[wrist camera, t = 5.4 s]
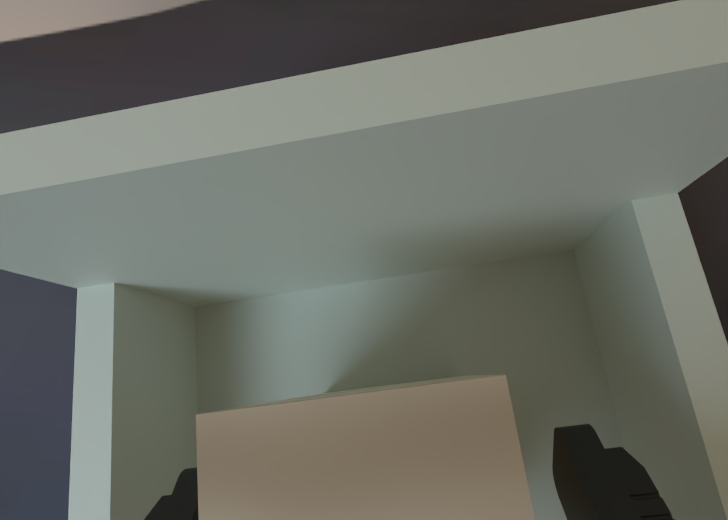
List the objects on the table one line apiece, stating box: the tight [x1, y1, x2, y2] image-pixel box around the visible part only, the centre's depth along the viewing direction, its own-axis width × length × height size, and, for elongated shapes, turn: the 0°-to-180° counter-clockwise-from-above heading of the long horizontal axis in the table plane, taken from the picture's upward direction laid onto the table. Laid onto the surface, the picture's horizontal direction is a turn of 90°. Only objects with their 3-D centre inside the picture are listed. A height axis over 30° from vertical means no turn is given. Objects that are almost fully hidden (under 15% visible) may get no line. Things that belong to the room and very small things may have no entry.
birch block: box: [196, 375, 535, 520], centre depth 11 cm, size 5×5×10 cm
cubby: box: [0, 0, 728, 520], centre depth 13 cm, size 13×17×14 cm
